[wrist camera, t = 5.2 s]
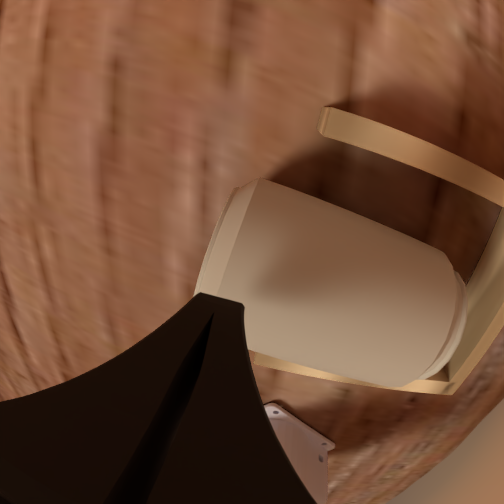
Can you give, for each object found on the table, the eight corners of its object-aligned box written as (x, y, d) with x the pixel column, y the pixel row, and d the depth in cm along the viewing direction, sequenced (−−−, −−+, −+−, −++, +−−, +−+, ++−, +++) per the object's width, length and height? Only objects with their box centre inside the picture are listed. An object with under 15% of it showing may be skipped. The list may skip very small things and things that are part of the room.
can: (252, 145, 15) (456, 231, 15) (220, 255, 20) (390, 313, 20) (201, 237, 9) (498, 340, 10) (178, 356, 14) (397, 414, 15)
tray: (521, 192, 14) (558, 214, 11) (436, 356, 20) (452, 395, 17) (322, 107, 15) (331, 106, 11) (260, 320, 21) (253, 363, 17)
